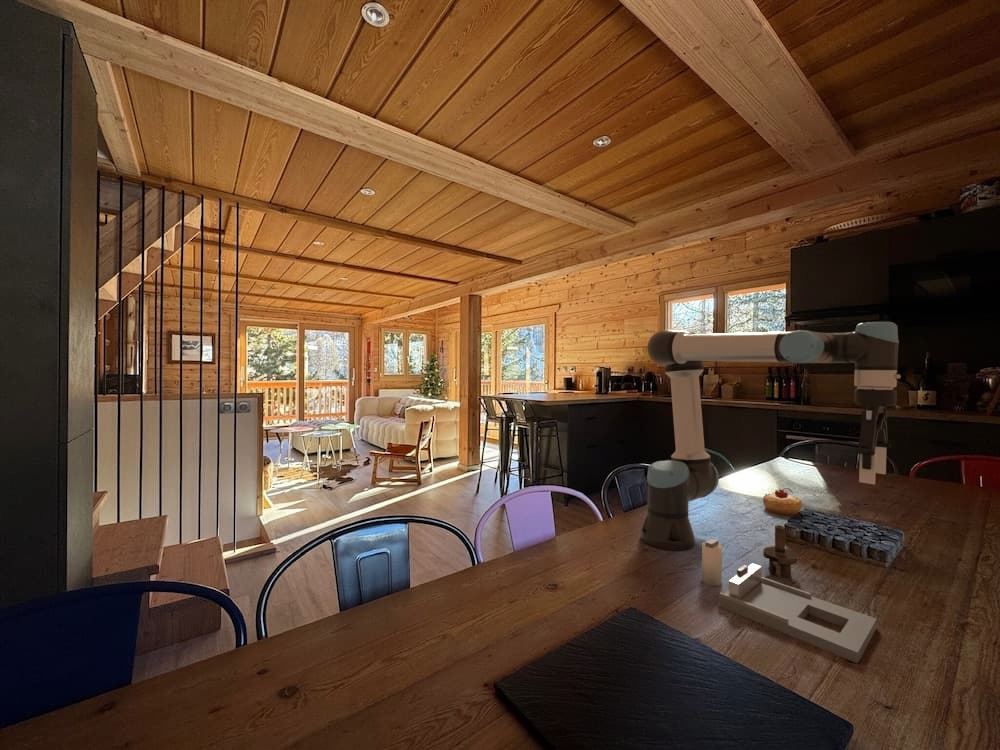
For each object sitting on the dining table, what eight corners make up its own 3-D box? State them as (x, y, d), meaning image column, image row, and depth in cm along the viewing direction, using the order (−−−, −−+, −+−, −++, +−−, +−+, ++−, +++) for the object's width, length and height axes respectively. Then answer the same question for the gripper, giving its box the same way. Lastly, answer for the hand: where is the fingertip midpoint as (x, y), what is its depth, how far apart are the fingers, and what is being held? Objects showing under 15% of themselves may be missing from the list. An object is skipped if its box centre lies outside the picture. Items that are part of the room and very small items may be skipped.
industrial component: (777, 564, 115) (777, 519, 115) (804, 576, 108) (804, 529, 108) (751, 570, 112) (751, 524, 111) (778, 583, 105) (778, 534, 105)
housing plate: (718, 606, 95) (718, 593, 95) (747, 582, 105) (748, 571, 105) (857, 663, 77) (857, 648, 77) (876, 628, 87) (876, 614, 87)
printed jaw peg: (698, 581, 106) (698, 540, 106) (706, 575, 109) (707, 536, 109) (717, 587, 103) (717, 546, 103) (725, 582, 106) (725, 541, 106)
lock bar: (728, 596, 95) (728, 576, 95) (751, 577, 103) (751, 559, 103) (738, 600, 93) (738, 579, 93) (761, 580, 102) (761, 562, 102)
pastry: (764, 505, 166) (764, 482, 166) (802, 510, 159) (801, 486, 159) (761, 512, 156) (761, 488, 156) (801, 518, 149) (801, 492, 149)
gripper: (887, 391, 90) (884, 491, 91) (904, 387, 107) (902, 472, 107) (842, 389, 96) (840, 484, 97) (865, 385, 112) (863, 466, 113)
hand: (872, 478), depth 102 cm, fingers open, 13 cm apart
